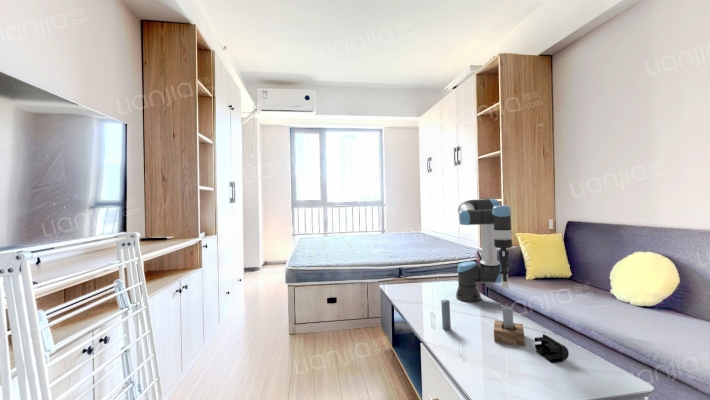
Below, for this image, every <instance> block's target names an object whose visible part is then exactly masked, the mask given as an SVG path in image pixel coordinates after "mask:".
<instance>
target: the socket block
mask: <svg viewBox="0 0 710 400" xmlns="http://www.w3.org/2000/svg"><path fill="white" fill-rule="evenodd" d="M493 322H494V323H493V340H494V342H495V343H500V344H507V345H514V346H518V347H526V344H525V343H526V341H525V330H524V324H523V323H517V322H513V329H514V330H507V329H504V325H503V320H494V321H493Z"/></svg>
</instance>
